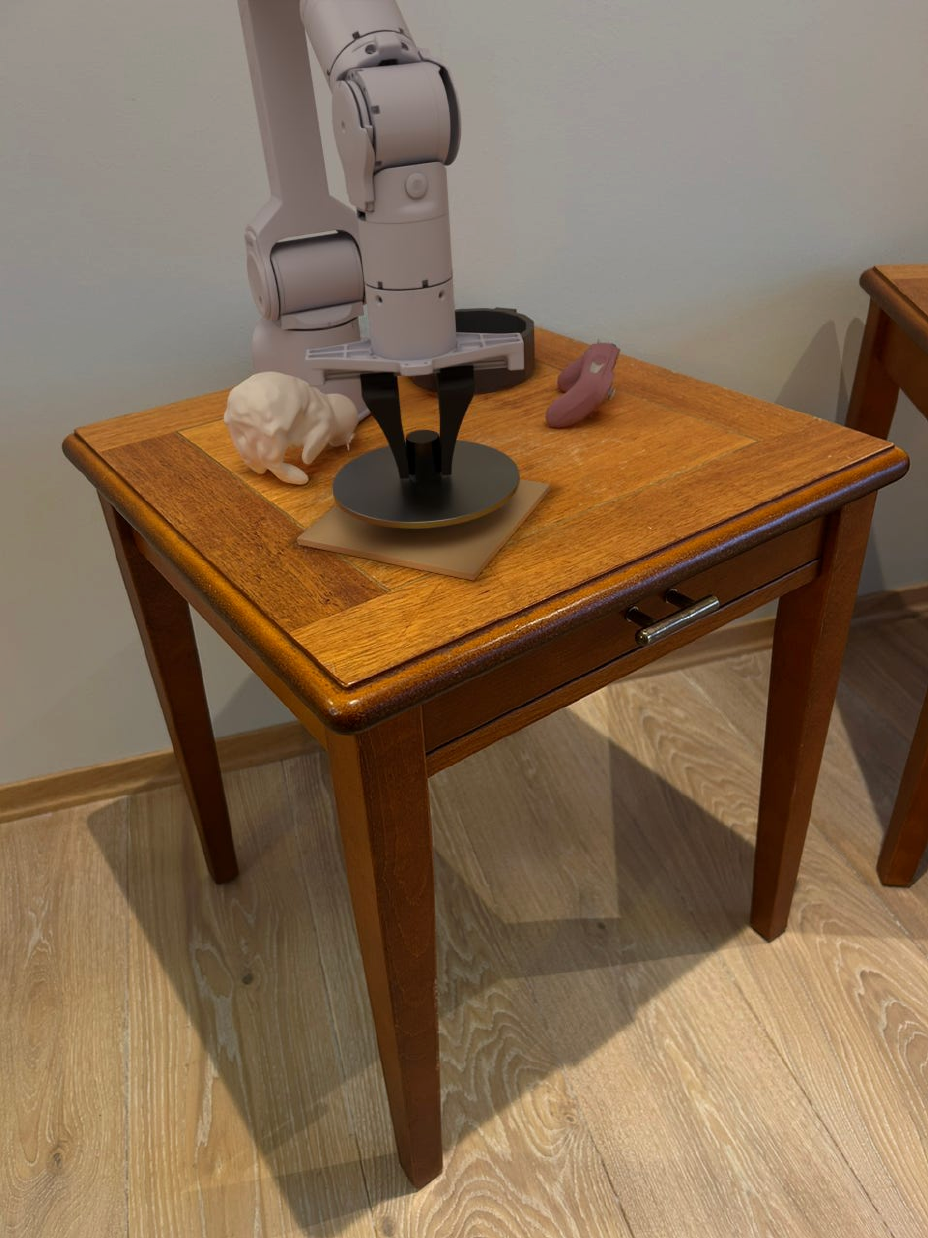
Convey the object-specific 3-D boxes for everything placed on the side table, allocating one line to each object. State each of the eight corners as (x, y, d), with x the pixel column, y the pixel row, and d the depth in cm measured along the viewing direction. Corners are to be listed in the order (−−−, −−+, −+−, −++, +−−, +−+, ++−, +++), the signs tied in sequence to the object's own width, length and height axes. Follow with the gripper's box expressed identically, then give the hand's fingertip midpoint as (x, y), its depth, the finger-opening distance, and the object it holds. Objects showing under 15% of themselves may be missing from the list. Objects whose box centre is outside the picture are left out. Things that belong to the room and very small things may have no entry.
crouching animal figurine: (209, 375, 74) (320, 344, 82) (222, 480, 78) (327, 440, 87) (266, 390, 71) (376, 356, 79) (276, 498, 75) (380, 456, 83)
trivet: (297, 544, 70) (296, 537, 69) (391, 465, 80) (391, 458, 79) (474, 581, 64) (473, 573, 64) (550, 490, 74) (550, 483, 74)
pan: (372, 395, 93) (367, 350, 90) (454, 337, 106) (452, 296, 104) (492, 411, 88) (490, 364, 86) (562, 348, 101) (562, 305, 99)
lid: (297, 517, 68) (287, 461, 66) (391, 442, 78) (386, 391, 76) (471, 551, 63) (467, 492, 61) (547, 466, 73) (547, 412, 71)
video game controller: (586, 448, 84) (626, 379, 80) (539, 424, 84) (577, 354, 80) (596, 404, 92) (633, 340, 88) (554, 382, 92) (588, 317, 88)
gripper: (291, 304, 59) (321, 504, 66) (528, 286, 59) (532, 486, 67) (298, 274, 65) (325, 461, 72) (514, 257, 65) (519, 445, 73)
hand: (424, 471), depth 70 cm, fingers closed on lid, 2 cm apart
